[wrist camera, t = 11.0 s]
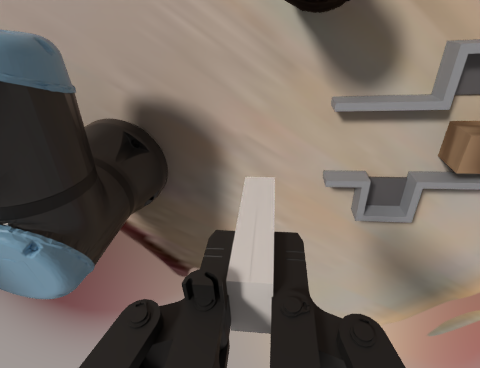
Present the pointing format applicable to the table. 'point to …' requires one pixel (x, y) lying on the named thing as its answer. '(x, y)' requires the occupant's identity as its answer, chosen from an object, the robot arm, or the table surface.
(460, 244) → the table surface
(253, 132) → the table surface
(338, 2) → the coffee cup
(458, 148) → the walnut block
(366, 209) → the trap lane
